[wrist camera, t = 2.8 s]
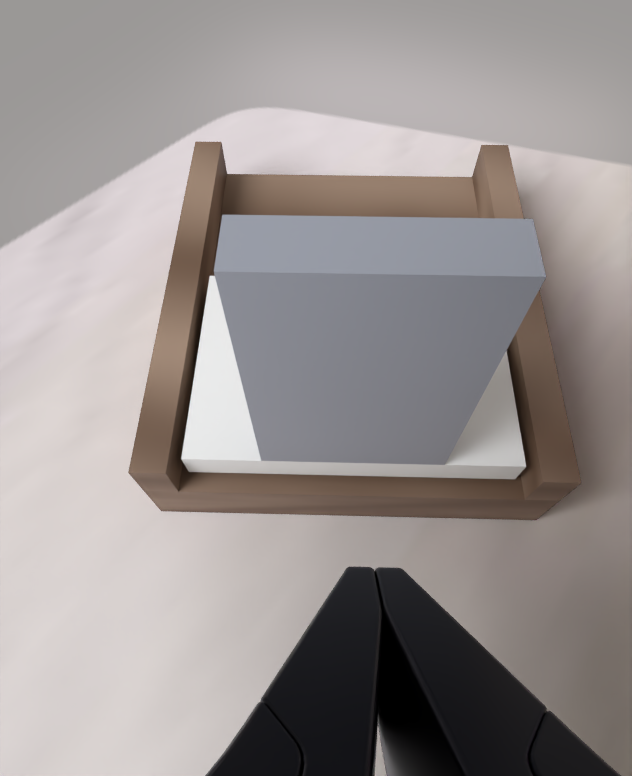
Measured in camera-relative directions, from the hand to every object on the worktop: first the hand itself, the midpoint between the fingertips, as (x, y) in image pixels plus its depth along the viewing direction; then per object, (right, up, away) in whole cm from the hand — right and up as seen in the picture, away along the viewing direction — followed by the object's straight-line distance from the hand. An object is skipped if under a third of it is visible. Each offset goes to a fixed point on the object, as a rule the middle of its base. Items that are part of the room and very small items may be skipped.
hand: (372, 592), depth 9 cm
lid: (0, +4, +9) cm, 10 cm away
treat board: (0, +5, +12) cm, 13 cm away
